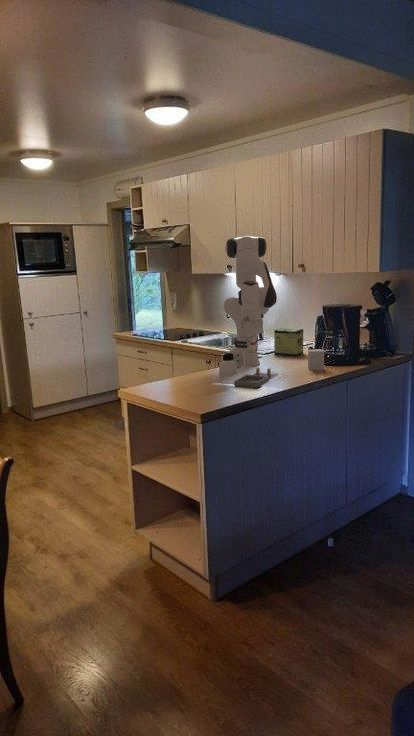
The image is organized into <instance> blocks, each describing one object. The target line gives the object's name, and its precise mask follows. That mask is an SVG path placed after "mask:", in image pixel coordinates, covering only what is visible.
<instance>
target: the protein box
mask: <svg viewBox="0 0 414 736" xmlns="http://www.w3.org/2000/svg"><path fill="white" fill-rule="evenodd" d="M273 331H274V332H273V333H274V338H273V340H274V342H273V343H274V349H273V351H274V352H273V353H274V356H287V357H298V356H301V355H303V354H304V329H303V328H283V327H281V328H278V329H275V330H273Z"/></svg>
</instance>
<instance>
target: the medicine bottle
mask: <svg viewBox="0 0 414 736" xmlns="http://www.w3.org/2000/svg"><path fill="white" fill-rule="evenodd" d="M233 361H234V360H233V354H232V353H227V352H224V353H222V354H221V362H222V363H221V362H219V363H218V373H219V376H220V377H219V378H221V377H224V376H225V377H226V376H227V377H233V376H235V375H237V373H238V372H237V371H238V370H237V368H238V367H237V364H236V362H233Z"/></svg>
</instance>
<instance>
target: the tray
mask: <svg viewBox="0 0 414 736" xmlns="http://www.w3.org/2000/svg"><path fill="white" fill-rule="evenodd" d="M267 382H269V376H257V375H254V374H245V375H243V376H241V377H239V378H238V379H235V380H234V388H241V389H243V388H244V389H251V390H252V389H253V390H259V389H261V388H262V385H263V384H266V383H267Z"/></svg>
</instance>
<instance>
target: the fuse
mask: <svg viewBox="0 0 414 736" xmlns="http://www.w3.org/2000/svg"><path fill="white" fill-rule="evenodd" d="M250 341H251V346H247V353H256V334H254V336H251V339H250Z"/></svg>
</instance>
